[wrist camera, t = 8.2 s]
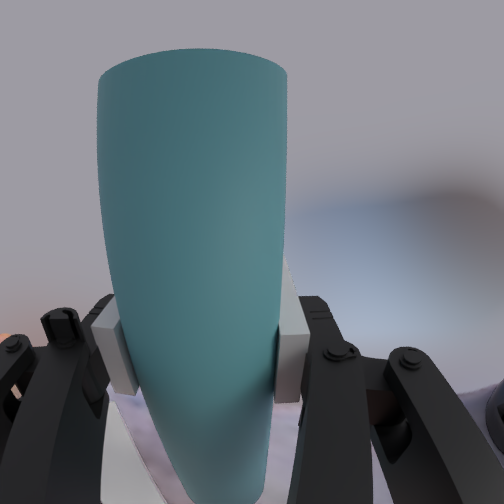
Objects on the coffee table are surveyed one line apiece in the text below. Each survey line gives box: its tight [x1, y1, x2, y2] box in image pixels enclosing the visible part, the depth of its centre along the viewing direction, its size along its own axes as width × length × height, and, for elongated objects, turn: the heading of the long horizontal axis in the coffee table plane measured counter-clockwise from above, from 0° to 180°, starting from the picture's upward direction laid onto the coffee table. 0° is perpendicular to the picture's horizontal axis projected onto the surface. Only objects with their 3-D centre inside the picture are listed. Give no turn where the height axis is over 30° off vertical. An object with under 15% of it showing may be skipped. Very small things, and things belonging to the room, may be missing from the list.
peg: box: [97, 49, 287, 504], centre depth 9 cm, size 4×4×18 cm
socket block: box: [100, 401, 168, 504], centre depth 13 cm, size 16×16×4 cm
